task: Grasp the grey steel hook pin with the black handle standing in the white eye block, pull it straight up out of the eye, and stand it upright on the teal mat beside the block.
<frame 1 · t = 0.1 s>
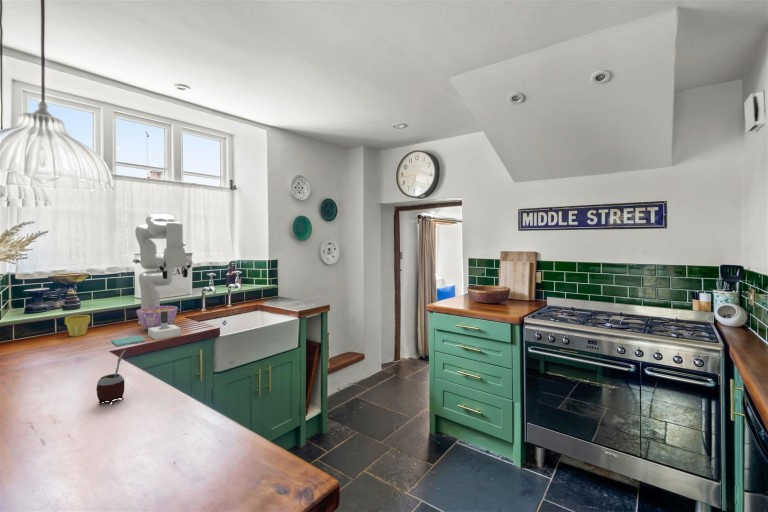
hand: (175, 278, 190), 31 cm above the worktop, tool pointing down, fingers open, 9 cm apart
eye block: (164, 335, 192), on the worktop
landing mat: (128, 341, 180), on the worktop
mate gourd: (112, 401, 114), on the worktop
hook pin: (164, 323, 192), in the eye block
bowl of food: (158, 329, 206), on the worktop
plant pot: (78, 335, 192), on the worktop
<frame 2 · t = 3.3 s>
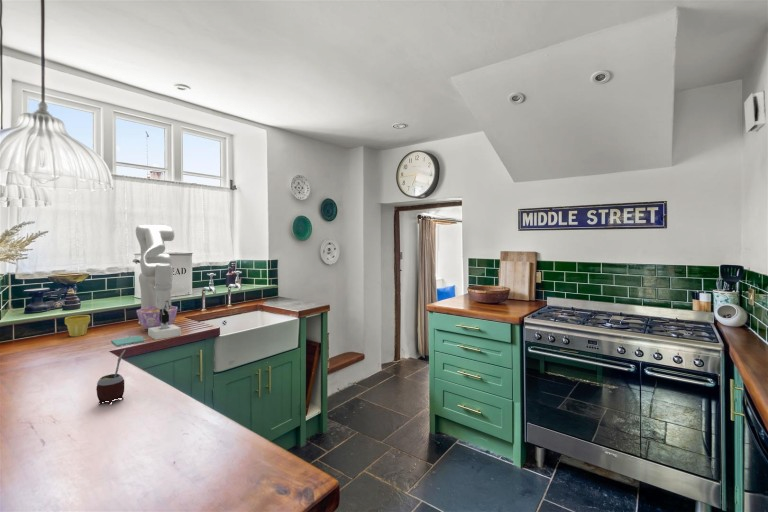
hand: (164, 321, 192), 8 cm above the worktop, tool pointing down, fingers closed on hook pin, 3 cm apart
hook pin: (164, 323, 192), in the eye block, touching gripper
everything else where it was.
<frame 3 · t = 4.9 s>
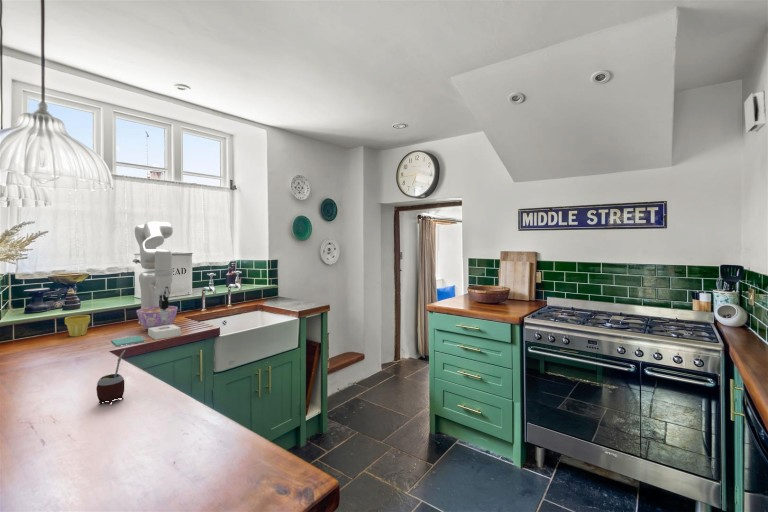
hand: (163, 307, 192), 15 cm above the worktop, tool pointing down, fingers closed on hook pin, 3 cm apart
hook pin: (163, 309, 192), point 14 cm above the worktop, touching gripper
everything else where it was.
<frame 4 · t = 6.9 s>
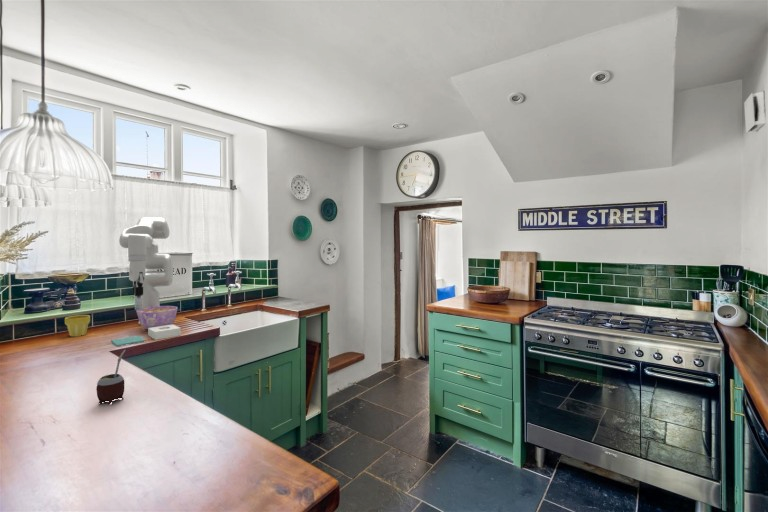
hand: (138, 294, 182), 23 cm above the worktop, tool pointing down, fingers closed on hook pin, 3 cm apart
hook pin: (138, 296, 183), point 22 cm above the worktop, touching gripper
everything else where it was.
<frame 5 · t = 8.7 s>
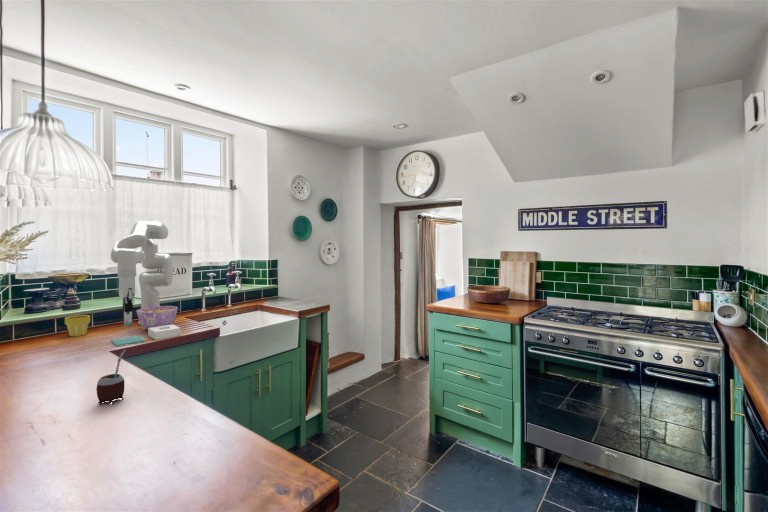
hand: (127, 310, 179), 16 cm above the worktop, tool pointing down, fingers closed on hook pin, 3 cm apart
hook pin: (127, 312, 179), point 15 cm above the worktop, touching gripper
everything else where it was.
when the fingers open (10 cm above the worktop, at t = 10.5 s): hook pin drops 1 cm, resting on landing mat.
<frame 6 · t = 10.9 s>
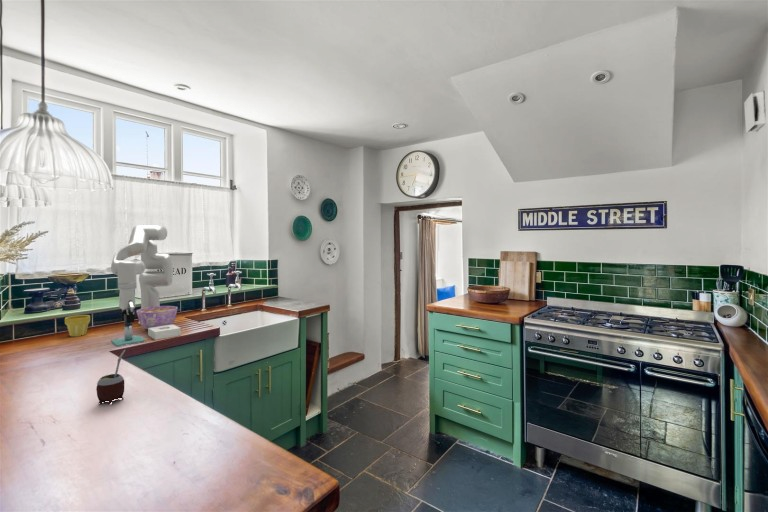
hand: (128, 320, 180), 10 cm above the worktop, tool pointing down, fingers open, 7 cm apart
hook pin: (128, 327, 180), on the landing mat, point 7 cm above the worktop
everything else where it was.
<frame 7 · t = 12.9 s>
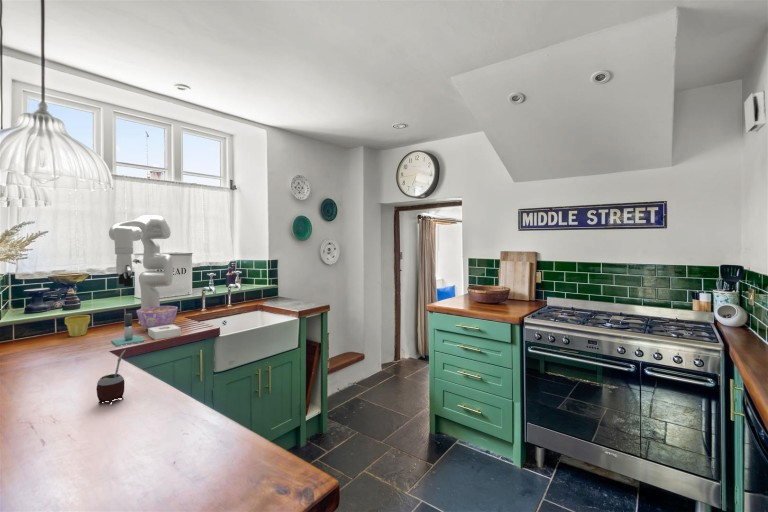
hand: (125, 284, 183), 28 cm above the worktop, tool pointing down, fingers open, 9 cm apart
nothing on the worktop moved.
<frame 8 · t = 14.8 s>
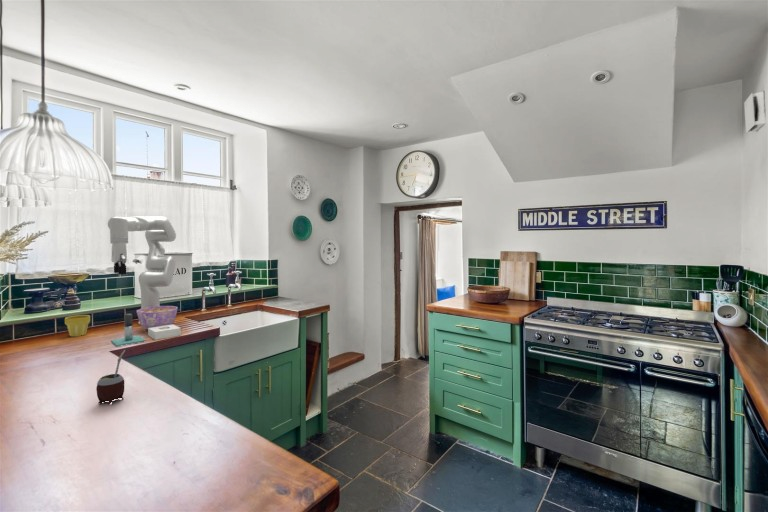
hand: (120, 273, 188), 33 cm above the worktop, tool pointing down, fingers open, 9 cm apart
nothing on the worktop moved.
at the end: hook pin inside the target area on the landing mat (0.1 cm from its centre), point 7.3 cm above the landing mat's base; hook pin tilted 0°; the gripper is holding nothing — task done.
